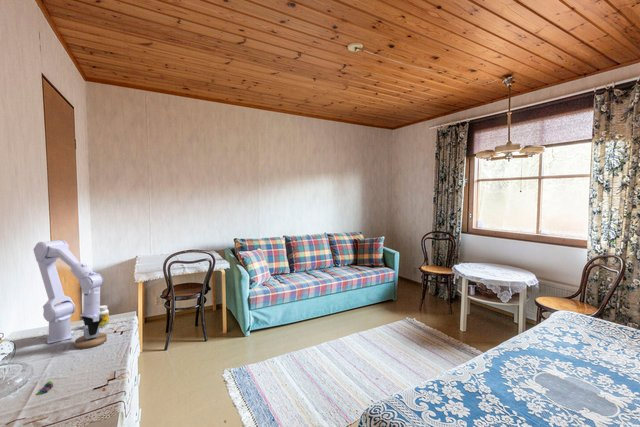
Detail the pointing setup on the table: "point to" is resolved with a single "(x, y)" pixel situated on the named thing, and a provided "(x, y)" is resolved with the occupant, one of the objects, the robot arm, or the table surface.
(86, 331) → the blue cube
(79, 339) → the walnut bowl
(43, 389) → the green pink pointed oval
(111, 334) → the table surface
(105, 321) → the supplement bottle
